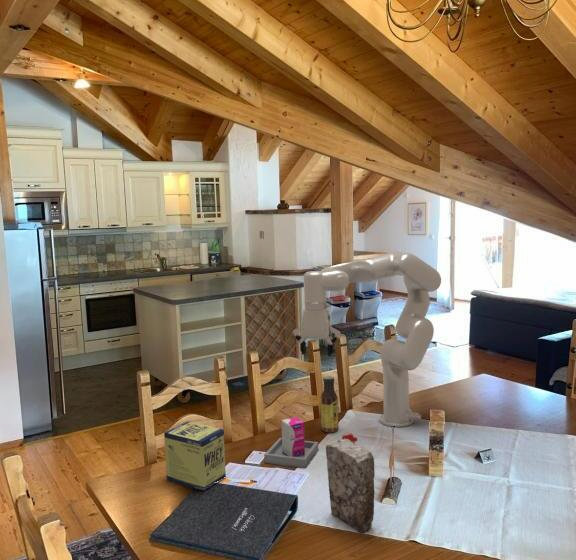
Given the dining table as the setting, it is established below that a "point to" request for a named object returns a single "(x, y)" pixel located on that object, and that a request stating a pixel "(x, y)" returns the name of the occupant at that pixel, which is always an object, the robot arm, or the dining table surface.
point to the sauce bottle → (329, 406)
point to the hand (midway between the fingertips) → (316, 354)
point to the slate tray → (278, 457)
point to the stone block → (351, 483)
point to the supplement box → (293, 437)
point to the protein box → (195, 454)
